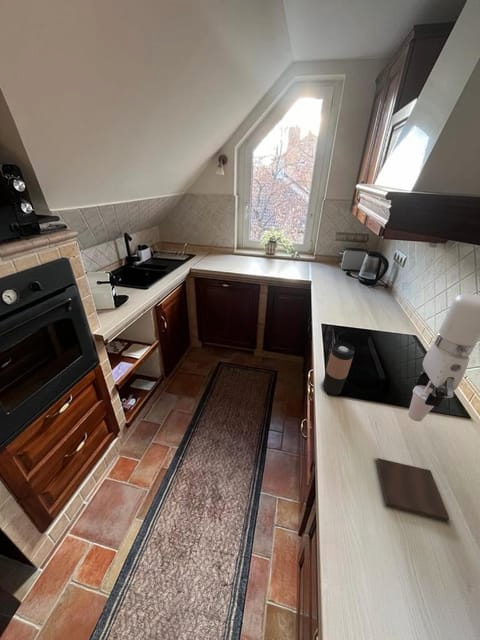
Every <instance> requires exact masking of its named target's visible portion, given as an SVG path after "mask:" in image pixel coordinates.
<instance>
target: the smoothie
mask: <svg viewBox="0 0 480 640" xmlns="http://www.w3.org/2000/svg"><path fill="white" fill-rule="evenodd" d="M431 384H432V382H431V380H430V381H429V383H428V384H427V386H422V385H419V386H416V385H415V386H414V388H413V389H412V397H411V401H410V405H409V408H408V412H407V416H408V417H409V418H410V419H411V420H412V421H415V422H422V421H423V420H424V419H425V417H427V415H428V414H429V413H430V412H431V410H432V409H433V408H434V407H435V406H430V405H426V404H425V401H426V399H427V397H428V395H429V393H432V390H433V388H431V387H430V386H431Z"/></svg>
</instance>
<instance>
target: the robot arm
mask: <svg viewBox="0 0 480 640" xmlns="http://www.w3.org/2000/svg"><path fill="white" fill-rule="evenodd" d="M479 340H480V295H478V294H474V293H461V294H458V295H457V296H455V297H454V298H453V300H452V302H451V304H450V306H449V308H448V310H447V313H446V315H445V316H444V319H443V321H442V323H441V325H440V327H439V329H438V332H437V334H436V336H435V337H434V340H433V341H432V344H431V345H430V347H429V349H428V350H427V352H426V354H425V355H424V356H423V358H422V359H423V361H422V365H421V366H422V369H421V370H420V372H419V373H420V374H419V376H418V378H417V380H416V382H415V387H416V386H419V385H422V386H427V384H428V383H429V381H430V380H431V384H432V385H433V386H432V389H433V390H432V393H429V395H428V397H427V399H426V401H425V404H426V405H430V406H434V407H436V408H437V407H440V405H441V403H442V402H443V399H448V398H449V399H453V398H454V391H456V390H457V389H458V387H459V386H460V384H461V382H462V381H463V378H464V376H465V374H466V371H467V369H468V366H469V361H470V355H471V354H472V352H473V351H474V349H475V347H476V345H477V344H478V343H479ZM439 389H442V390H441V391H438V390H439Z"/></svg>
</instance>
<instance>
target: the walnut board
mask: <svg viewBox="0 0 480 640" xmlns="http://www.w3.org/2000/svg"><path fill="white" fill-rule="evenodd" d="M375 463H376V467H377V472H378V476H379V480H380V484H381V490H382V495H383V499H384V503H385V506H387V507H389V508H390V507H391V508H395V509H398V510H402V511H405V512H409V513H413V514H417V515H420V516H425V517H428V518H433V519H436V520H440V521H443V522H448V521H449V520H450V517H449V513H448V511H447V509H446V506H445V504H444V501H443V499H442V496H441V494H440V492H439V489H438V486H437V484H436V481H435V478H434V476H433V473H432V471H431V470H430V469H427V468H422V467H417V466H413V465H410V464H405V463H400V462H397V461H392V460H387V459H383V458H380V457H377V458H376V460H375Z"/></svg>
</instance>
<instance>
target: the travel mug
mask: <svg viewBox="0 0 480 640" xmlns="http://www.w3.org/2000/svg"><path fill="white" fill-rule="evenodd" d="M354 355H355V347H353V345H352V344H350V343H347V342H344V341H337V342H334V343H333V344H332V347H331V351H330V355H329V357H328V361H327V365H326V369H325V373H324V377H323V383H322V389H323V391H324V392H325V393H326V394H329V395H331V396H338V395H340V394H341V393H342V391H343V388H344V385H345V383H346V380H347V377H348V375H349V371H350V368H351V365H352V362H353V358H354Z"/></svg>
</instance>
